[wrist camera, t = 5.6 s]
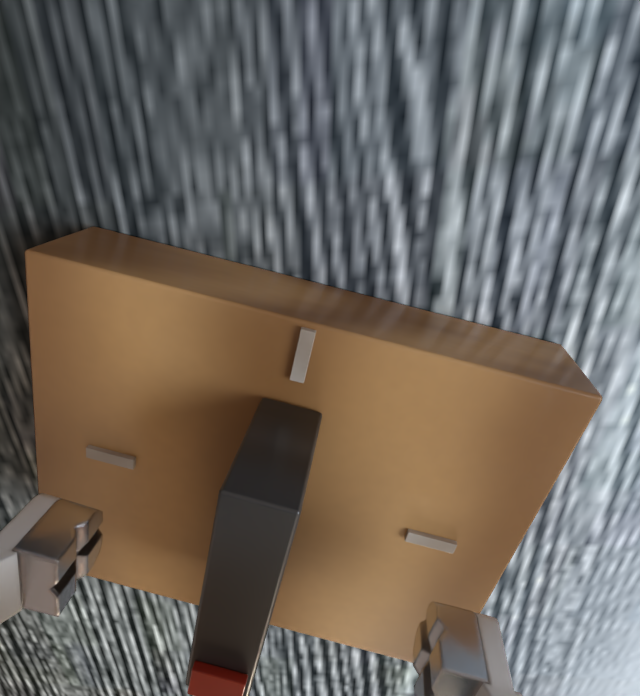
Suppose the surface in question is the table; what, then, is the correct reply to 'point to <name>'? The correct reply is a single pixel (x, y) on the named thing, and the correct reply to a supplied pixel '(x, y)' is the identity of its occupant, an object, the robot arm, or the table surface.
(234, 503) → the dark grey block
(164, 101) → the table surface
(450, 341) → the control panel
